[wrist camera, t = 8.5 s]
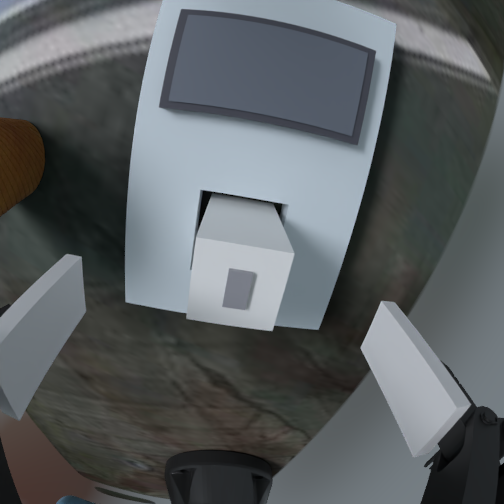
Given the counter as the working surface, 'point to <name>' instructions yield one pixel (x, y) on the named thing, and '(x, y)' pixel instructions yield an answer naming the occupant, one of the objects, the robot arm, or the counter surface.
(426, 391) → the robot arm
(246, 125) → the outlet board
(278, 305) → the block
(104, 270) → the counter surface
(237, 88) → the phone
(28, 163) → the disposable coffee cup
